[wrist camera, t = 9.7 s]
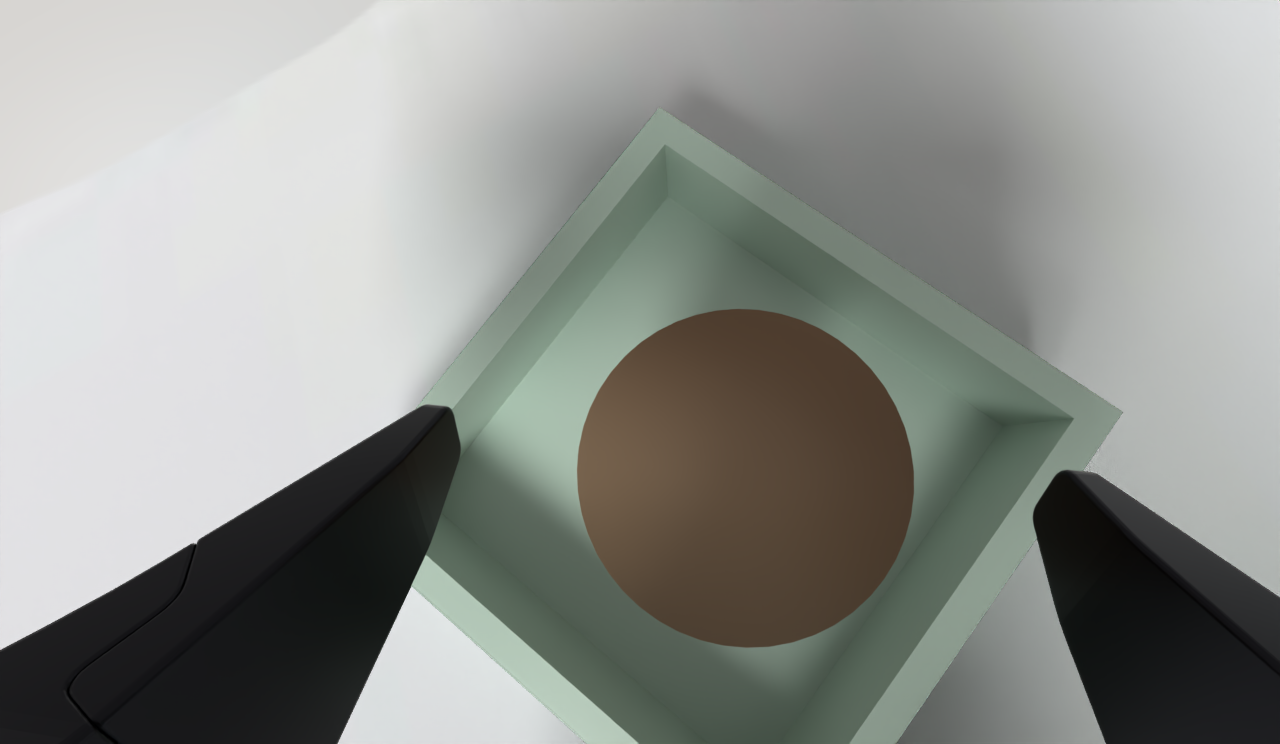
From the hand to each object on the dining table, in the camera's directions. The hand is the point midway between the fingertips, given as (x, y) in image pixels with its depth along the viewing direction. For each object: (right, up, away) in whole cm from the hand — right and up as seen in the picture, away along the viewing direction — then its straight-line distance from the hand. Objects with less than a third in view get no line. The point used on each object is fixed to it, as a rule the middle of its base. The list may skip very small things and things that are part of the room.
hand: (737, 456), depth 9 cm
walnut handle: (+1, -2, +8) cm, 9 cm away
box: (+1, -2, +9) cm, 9 cm away
